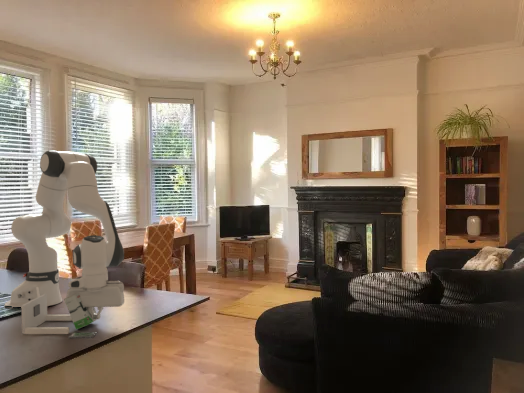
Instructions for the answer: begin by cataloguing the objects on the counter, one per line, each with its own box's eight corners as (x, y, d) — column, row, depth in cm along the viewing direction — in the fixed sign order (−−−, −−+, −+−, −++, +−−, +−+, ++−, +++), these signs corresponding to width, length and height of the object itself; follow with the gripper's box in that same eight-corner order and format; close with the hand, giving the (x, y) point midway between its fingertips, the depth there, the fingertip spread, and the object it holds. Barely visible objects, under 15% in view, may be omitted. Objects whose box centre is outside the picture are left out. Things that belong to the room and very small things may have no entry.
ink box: (87, 325, 162) (74, 294, 162) (75, 330, 163) (62, 299, 163) (99, 318, 171) (87, 288, 171) (88, 322, 171) (76, 293, 172)
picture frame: (68, 340, 154) (68, 336, 154) (73, 335, 159) (73, 332, 159) (92, 339, 155) (92, 336, 155) (96, 335, 159) (96, 331, 159)
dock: (22, 334, 159) (21, 305, 159) (44, 319, 175) (44, 293, 175) (68, 333, 159) (67, 305, 158) (86, 319, 175) (85, 293, 174)
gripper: (126, 278, 169) (127, 315, 170) (71, 279, 169) (72, 316, 170) (120, 282, 163) (121, 320, 163) (63, 283, 163) (64, 321, 163)
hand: (96, 318), depth 167 cm, fingers closed
